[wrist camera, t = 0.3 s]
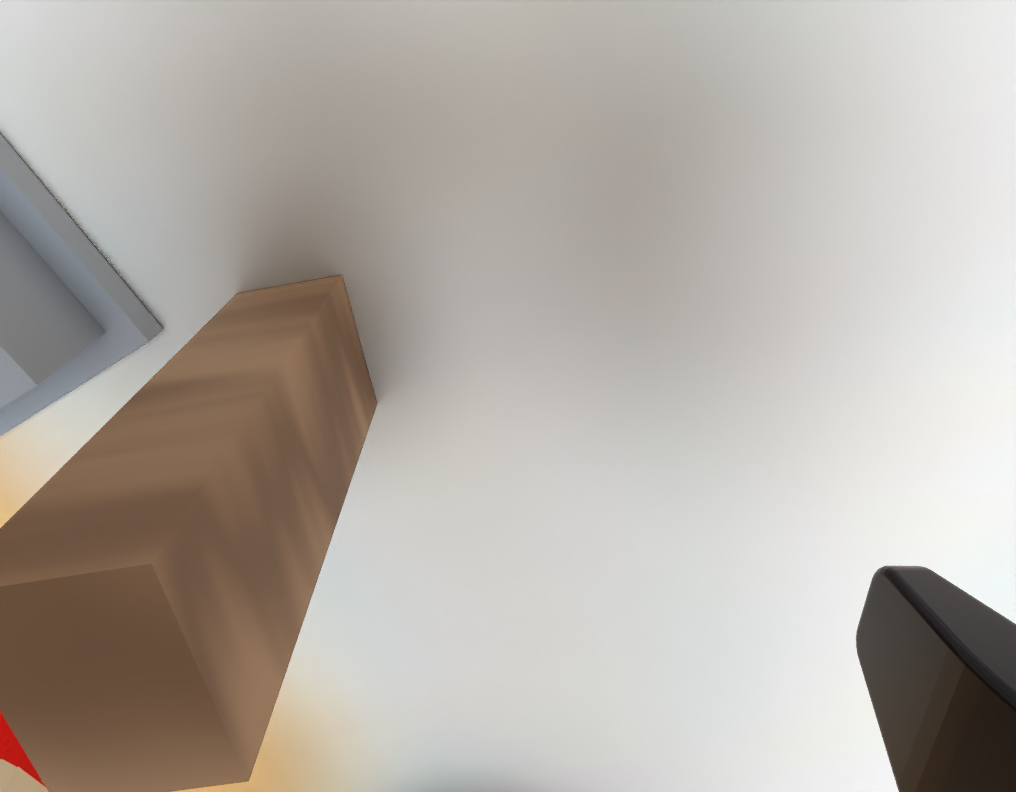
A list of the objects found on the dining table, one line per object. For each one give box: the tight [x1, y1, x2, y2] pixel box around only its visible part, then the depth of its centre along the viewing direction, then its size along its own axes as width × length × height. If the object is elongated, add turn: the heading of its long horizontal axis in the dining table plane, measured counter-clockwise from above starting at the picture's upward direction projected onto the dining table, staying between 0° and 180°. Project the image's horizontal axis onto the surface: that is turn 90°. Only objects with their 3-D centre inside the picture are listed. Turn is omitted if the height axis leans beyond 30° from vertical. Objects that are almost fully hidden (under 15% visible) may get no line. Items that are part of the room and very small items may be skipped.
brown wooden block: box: [0, 275, 377, 792], centre depth 17 cm, size 4×3×13 cm
